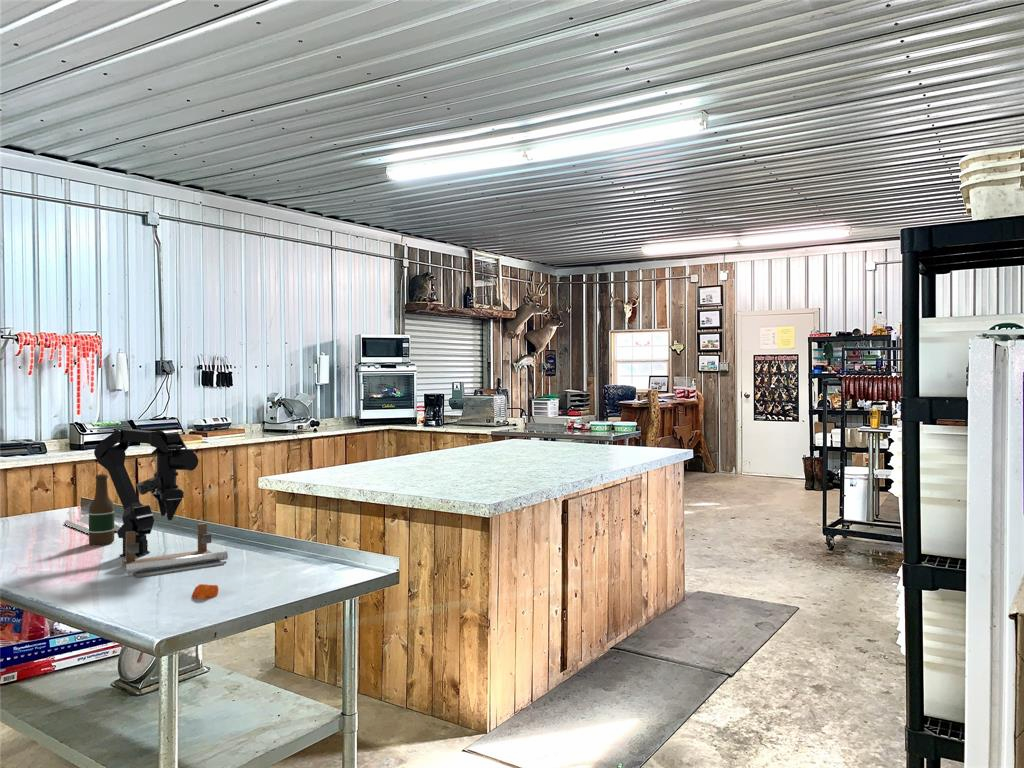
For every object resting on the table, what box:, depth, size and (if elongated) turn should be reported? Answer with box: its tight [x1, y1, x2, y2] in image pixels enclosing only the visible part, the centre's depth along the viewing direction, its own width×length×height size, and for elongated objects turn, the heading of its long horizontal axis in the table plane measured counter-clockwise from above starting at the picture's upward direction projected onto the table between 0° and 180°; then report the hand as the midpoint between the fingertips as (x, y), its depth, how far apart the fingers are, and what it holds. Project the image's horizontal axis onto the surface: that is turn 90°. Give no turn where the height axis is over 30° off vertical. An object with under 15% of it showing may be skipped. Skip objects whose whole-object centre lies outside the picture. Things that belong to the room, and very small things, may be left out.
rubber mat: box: [133, 560, 225, 579], centre depth 216 cm, size 9×24×1 cm, turn 128°
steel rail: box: [125, 550, 229, 575], centre depth 216 cm, size 28×3×3 cm, turn 128°
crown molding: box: [63, 514, 121, 535], centre depth 276 cm, size 31×12×4 cm, turn 49°
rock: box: [191, 583, 219, 600], centre depth 188 cm, size 12×12×4 cm
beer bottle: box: [88, 473, 115, 546], centre depth 249 cm, size 8×8×24 cm
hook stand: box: [121, 522, 213, 569], centre depth 225 cm, size 9×25×10 cm, turn 128°
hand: (166, 518), depth 228 cm, fingers open, 9 cm apart
